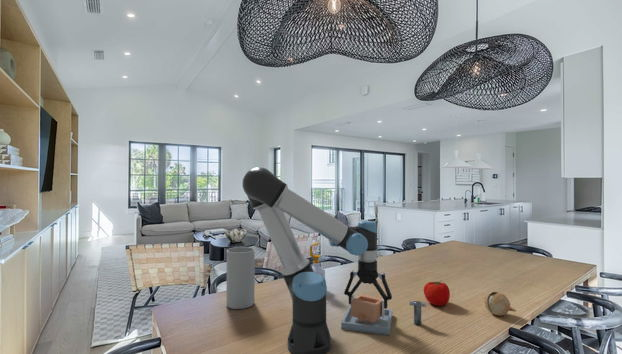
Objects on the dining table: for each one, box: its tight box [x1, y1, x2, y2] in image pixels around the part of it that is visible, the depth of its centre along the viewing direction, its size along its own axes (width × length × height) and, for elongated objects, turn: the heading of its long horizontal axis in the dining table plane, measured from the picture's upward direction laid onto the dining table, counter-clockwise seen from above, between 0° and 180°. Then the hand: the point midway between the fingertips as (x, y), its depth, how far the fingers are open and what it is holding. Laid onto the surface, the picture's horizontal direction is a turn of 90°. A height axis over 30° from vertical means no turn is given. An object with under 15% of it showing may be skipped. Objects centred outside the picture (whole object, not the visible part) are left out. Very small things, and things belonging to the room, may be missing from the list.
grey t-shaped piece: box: [409, 300, 427, 326], centre depth 123 cm, size 3×6×8 cm, turn 73°
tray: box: [340, 304, 393, 336], centre depth 125 cm, size 18×18×2 cm
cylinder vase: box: [225, 246, 256, 310], centre depth 143 cm, size 12×12×25 cm
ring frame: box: [351, 293, 385, 323], centre depth 124 cm, size 10×12×6 cm
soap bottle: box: [309, 242, 326, 279], centre depth 162 cm, size 9×9×25 cm
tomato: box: [423, 279, 451, 307], centre depth 143 cm, size 11×13×10 cm
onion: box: [483, 291, 517, 317], centre depth 131 cm, size 9×9×15 cm
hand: (367, 314), depth 125 cm, fingers closed on ring frame, 11 cm apart
